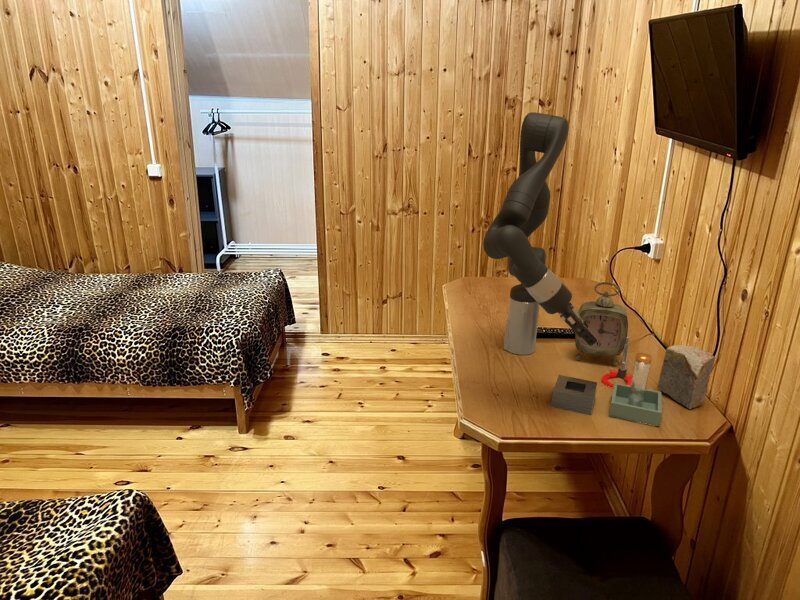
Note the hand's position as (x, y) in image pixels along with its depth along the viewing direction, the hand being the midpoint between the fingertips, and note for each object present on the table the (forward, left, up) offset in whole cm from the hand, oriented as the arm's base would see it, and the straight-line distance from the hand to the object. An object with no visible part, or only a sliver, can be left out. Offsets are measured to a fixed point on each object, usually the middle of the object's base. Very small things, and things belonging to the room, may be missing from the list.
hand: (589, 335), depth 142 cm
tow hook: (+8, +19, -20) cm, 29 cm away
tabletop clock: (+1, +32, -20) cm, 38 cm away
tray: (+13, +4, -20) cm, 25 cm away
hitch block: (-2, +2, -20) cm, 20 cm away
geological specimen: (+24, +16, -20) cm, 36 cm away
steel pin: (+13, +4, -20) cm, 24 cm away
